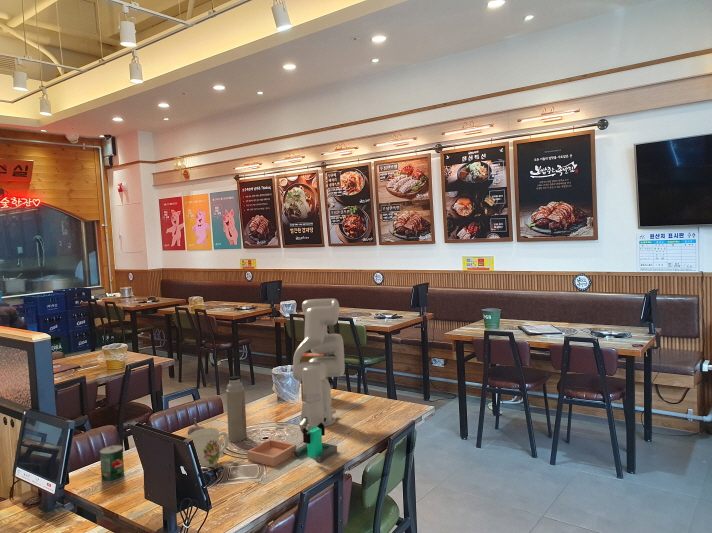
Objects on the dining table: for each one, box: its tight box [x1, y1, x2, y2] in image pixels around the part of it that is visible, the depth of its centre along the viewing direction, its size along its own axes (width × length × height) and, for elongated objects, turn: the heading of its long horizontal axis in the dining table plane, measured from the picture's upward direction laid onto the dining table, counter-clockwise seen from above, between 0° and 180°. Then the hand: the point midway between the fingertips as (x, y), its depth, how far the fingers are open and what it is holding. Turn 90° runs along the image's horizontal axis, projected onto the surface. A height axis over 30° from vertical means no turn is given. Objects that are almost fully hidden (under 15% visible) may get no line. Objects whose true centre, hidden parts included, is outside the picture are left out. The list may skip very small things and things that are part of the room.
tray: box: [246, 438, 297, 467], centre depth 208 cm, size 14×14×4 cm
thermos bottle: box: [225, 375, 248, 442], centre depth 228 cm, size 8×8×28 cm
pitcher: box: [186, 427, 229, 468], centre depth 203 cm, size 11×18×14 cm, turn 138°
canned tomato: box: [99, 444, 125, 483], centre depth 194 cm, size 8×8×11 cm
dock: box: [293, 442, 338, 464], centre depth 208 cm, size 12×13×2 cm
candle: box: [307, 426, 323, 459], centre depth 208 cm, size 6×6×12 cm
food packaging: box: [300, 352, 329, 402], centre depth 282 cm, size 13×9×25 cm
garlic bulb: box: [187, 417, 205, 436], centre depth 235 cm, size 8×7×8 cm
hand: (314, 438), depth 207 cm, fingers open, 9 cm apart
